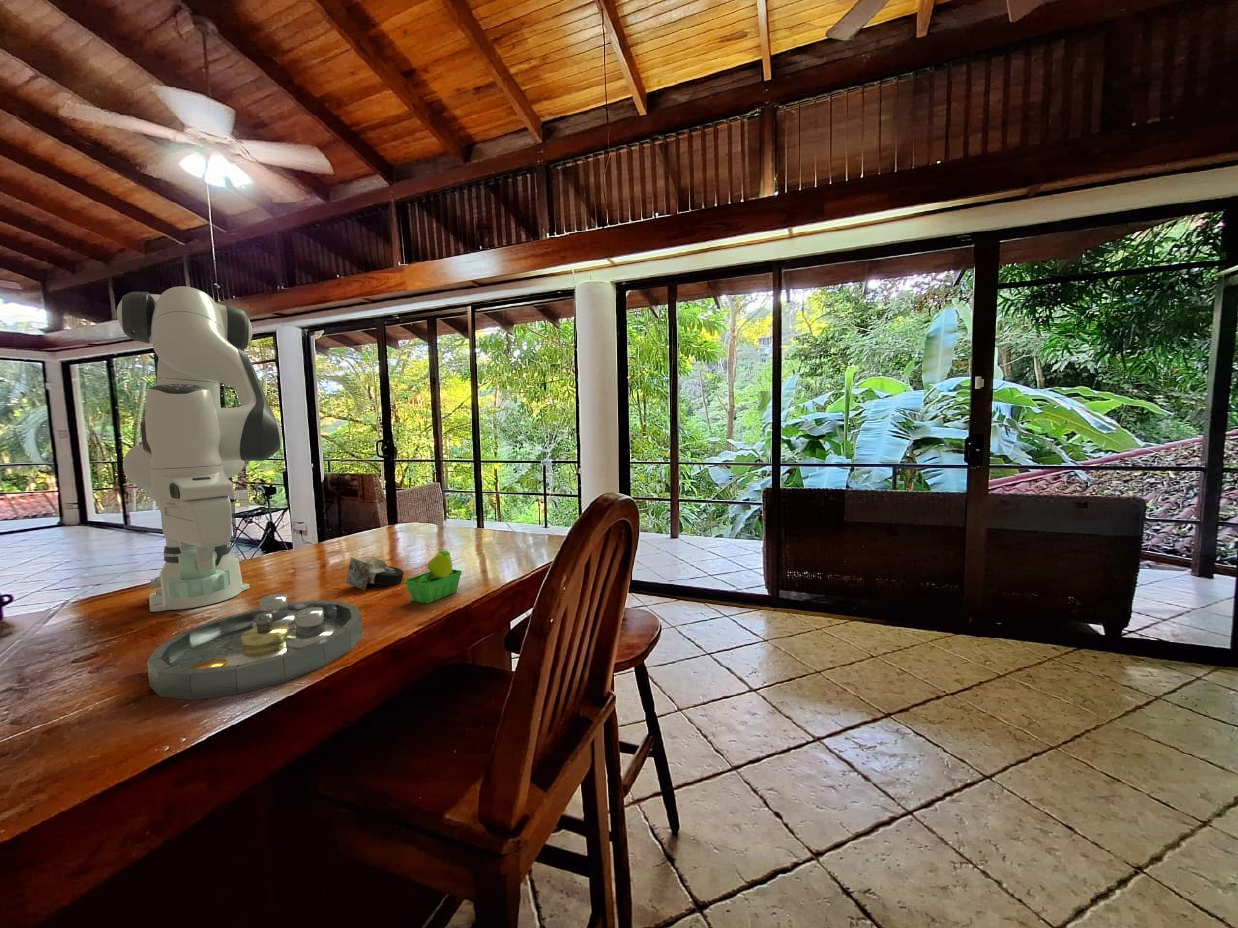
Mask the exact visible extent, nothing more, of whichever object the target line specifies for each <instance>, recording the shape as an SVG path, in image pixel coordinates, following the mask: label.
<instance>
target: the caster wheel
mask: <svg viewBox="0 0 1238 928" xmlns="http://www.w3.org/2000/svg"><path fill="white" fill-rule="evenodd" d="M404 573H405V572H404V571H403V569H401V568H398V567H395V566H388V565H387V564H386V562H384V561H383V560H381V559H379V558H371V559H364V560H360V559H356V558H353V557H351V558H350V563H349V566H348V570H347V574H346V580H345V583H346V585H349V586H352V587H354V588H357V589H360V590H362V591H365V590H366V589H367V585H368V584H371V585H372V584H373V585H375V584H377V585H385V586H392V585H394V586H395V585H398V584H401V583H402V581H403V577H404Z"/></svg>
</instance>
